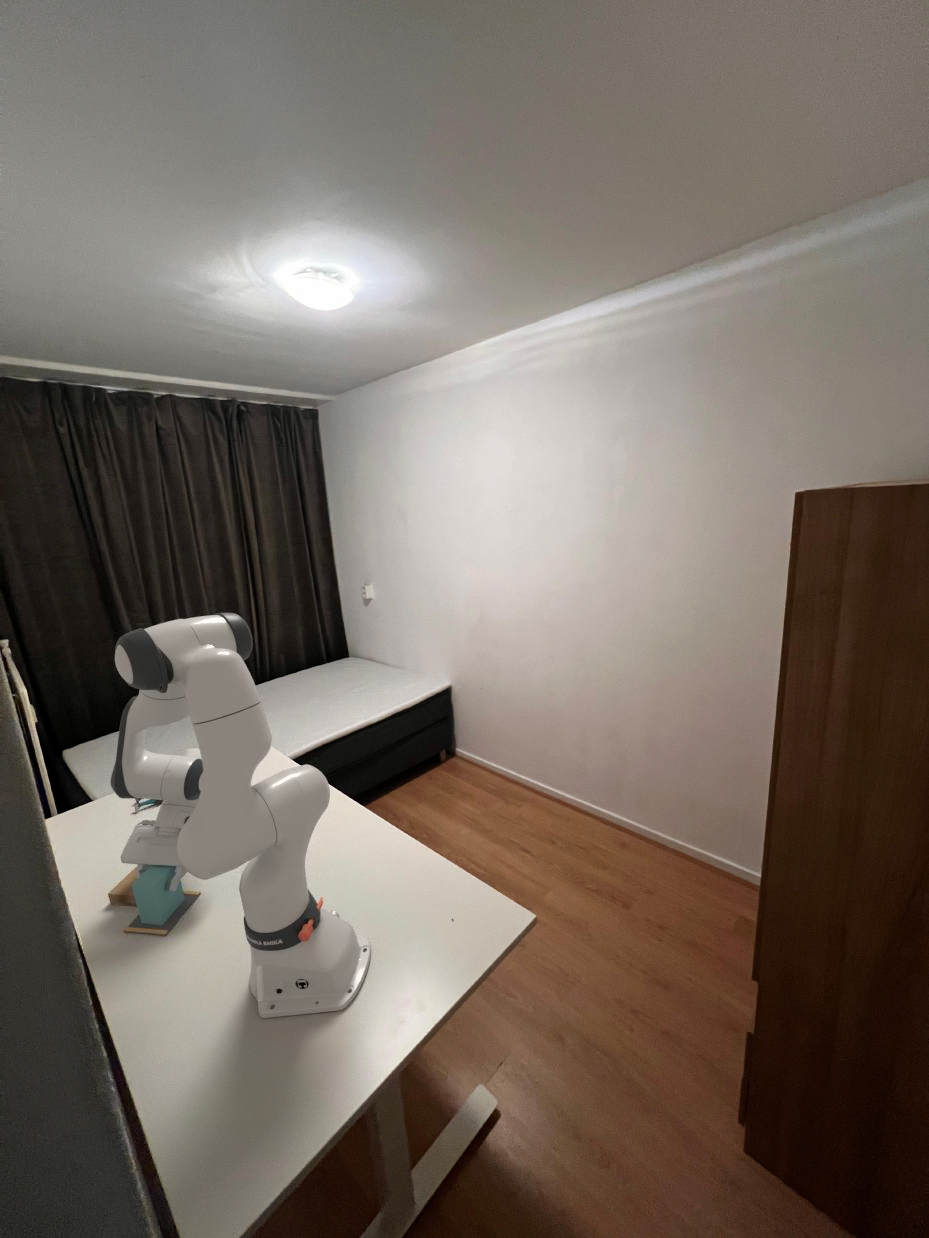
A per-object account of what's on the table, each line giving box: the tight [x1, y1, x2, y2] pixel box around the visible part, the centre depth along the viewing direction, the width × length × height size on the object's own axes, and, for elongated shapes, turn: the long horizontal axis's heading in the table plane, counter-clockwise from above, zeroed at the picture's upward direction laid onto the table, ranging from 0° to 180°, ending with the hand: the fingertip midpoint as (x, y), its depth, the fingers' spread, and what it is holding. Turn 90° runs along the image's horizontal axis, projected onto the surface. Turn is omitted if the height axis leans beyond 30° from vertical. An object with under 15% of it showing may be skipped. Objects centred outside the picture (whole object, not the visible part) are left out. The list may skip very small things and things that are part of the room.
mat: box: [122, 890, 202, 937], centre depth 107 cm, size 10×11×1 cm
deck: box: [107, 865, 151, 907], centre depth 114 cm, size 9×11×3 cm
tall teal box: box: [132, 865, 185, 925], centre depth 106 cm, size 5×7×10 cm
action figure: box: [134, 798, 164, 815], centre depth 150 cm, size 8×6×18 cm
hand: (155, 889), depth 105 cm, fingers open, 6 cm apart
